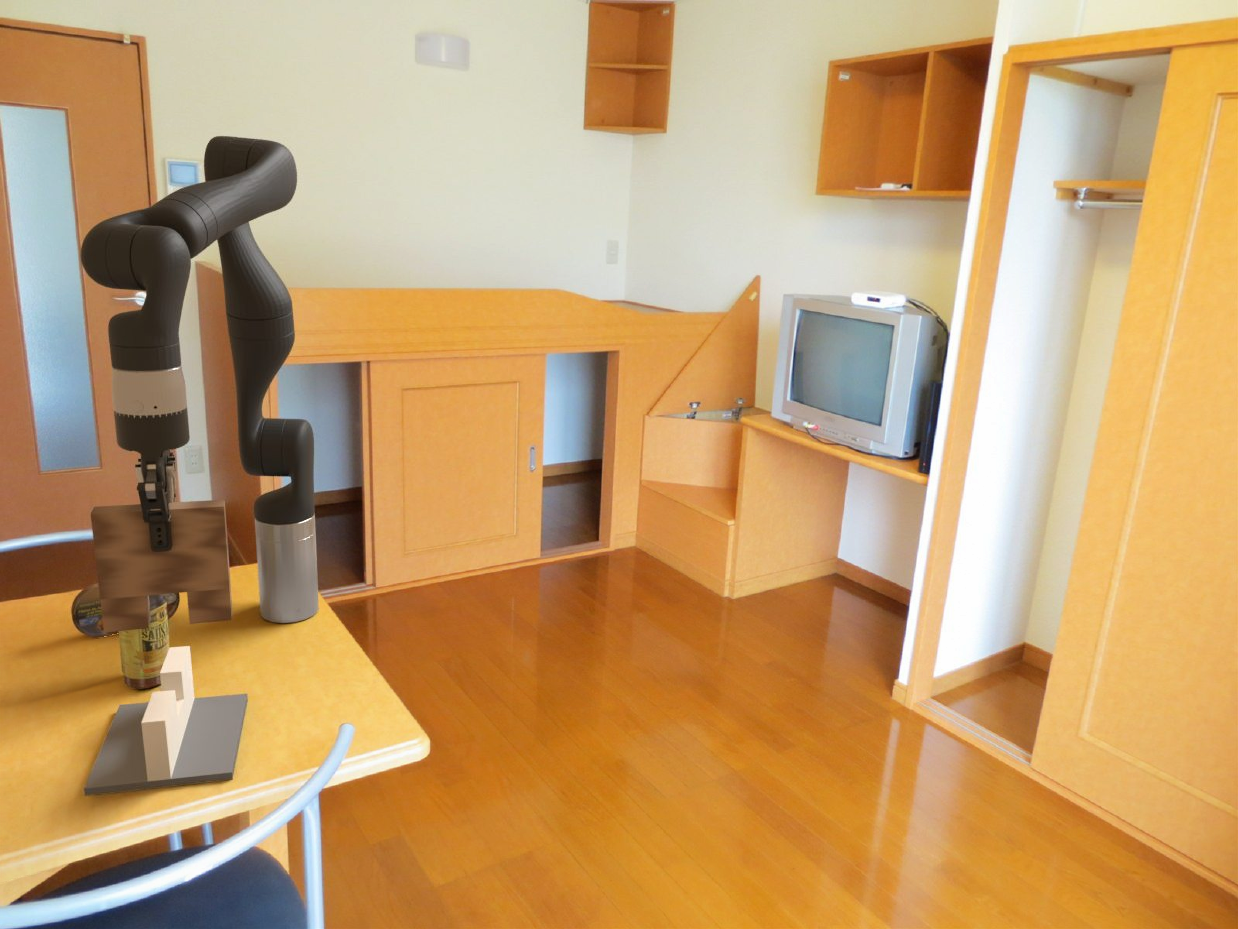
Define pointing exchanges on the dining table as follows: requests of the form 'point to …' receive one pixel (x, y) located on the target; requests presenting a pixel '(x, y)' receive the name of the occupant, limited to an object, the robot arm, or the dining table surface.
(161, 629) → the sauce bottle
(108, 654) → the dining table surface
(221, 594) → the walnut plate
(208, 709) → the slotted stand
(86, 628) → the tin
